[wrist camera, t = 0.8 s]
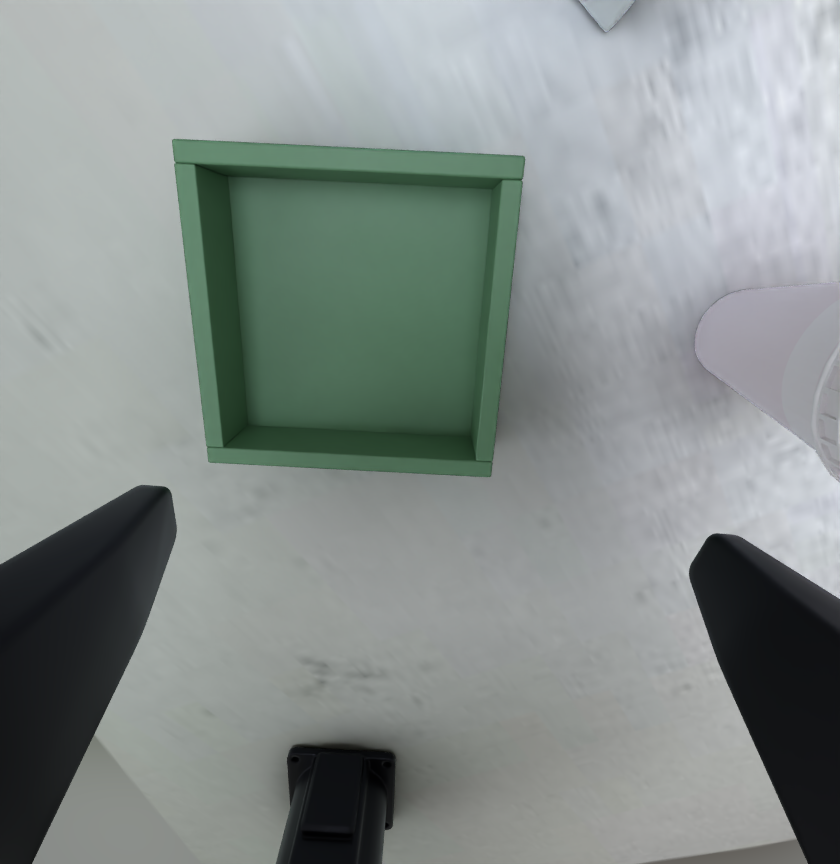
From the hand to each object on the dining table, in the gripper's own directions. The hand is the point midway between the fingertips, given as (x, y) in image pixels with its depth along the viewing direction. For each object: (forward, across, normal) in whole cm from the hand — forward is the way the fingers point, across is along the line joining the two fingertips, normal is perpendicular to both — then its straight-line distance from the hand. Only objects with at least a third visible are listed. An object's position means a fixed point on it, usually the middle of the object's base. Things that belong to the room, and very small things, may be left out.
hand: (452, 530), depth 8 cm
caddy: (+14, +2, +2) cm, 14 cm away
